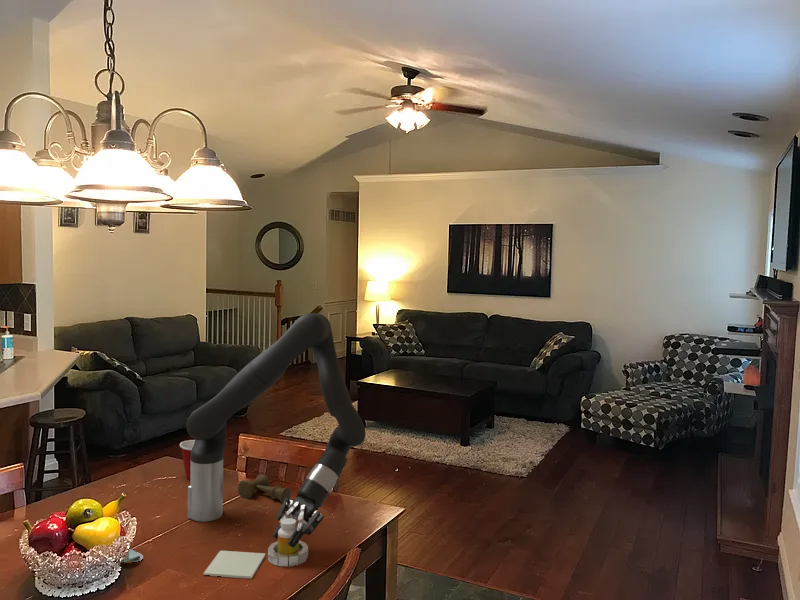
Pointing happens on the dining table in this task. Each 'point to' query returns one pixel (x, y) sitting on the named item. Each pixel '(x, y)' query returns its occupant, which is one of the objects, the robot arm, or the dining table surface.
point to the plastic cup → (187, 456)
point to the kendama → (262, 488)
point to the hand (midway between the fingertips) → (282, 541)
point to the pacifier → (133, 556)
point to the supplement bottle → (287, 537)
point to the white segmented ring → (287, 559)
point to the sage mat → (235, 564)
